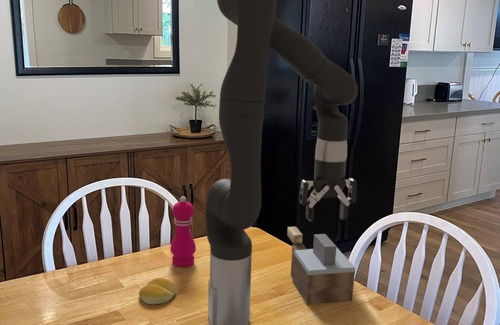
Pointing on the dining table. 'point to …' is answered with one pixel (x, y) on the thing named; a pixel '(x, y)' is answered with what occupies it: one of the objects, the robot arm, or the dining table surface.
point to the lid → (323, 258)
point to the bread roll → (157, 291)
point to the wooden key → (294, 235)
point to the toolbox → (321, 283)
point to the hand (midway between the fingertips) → (326, 219)
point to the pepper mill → (183, 234)
